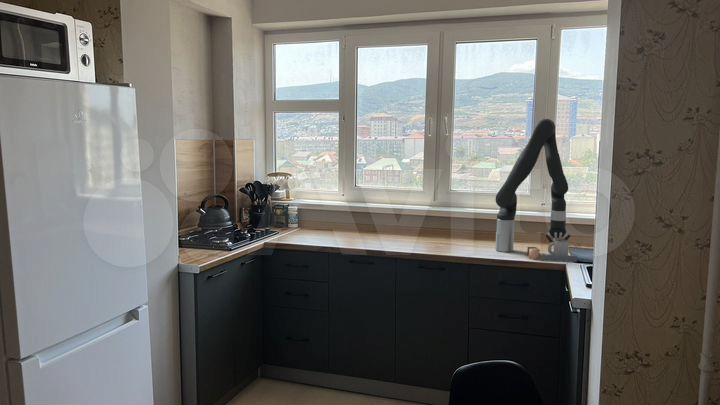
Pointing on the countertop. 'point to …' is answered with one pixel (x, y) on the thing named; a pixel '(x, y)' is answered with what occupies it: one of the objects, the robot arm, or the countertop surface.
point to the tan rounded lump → (534, 253)
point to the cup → (559, 247)
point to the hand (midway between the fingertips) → (556, 251)
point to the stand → (559, 257)
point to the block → (529, 248)
